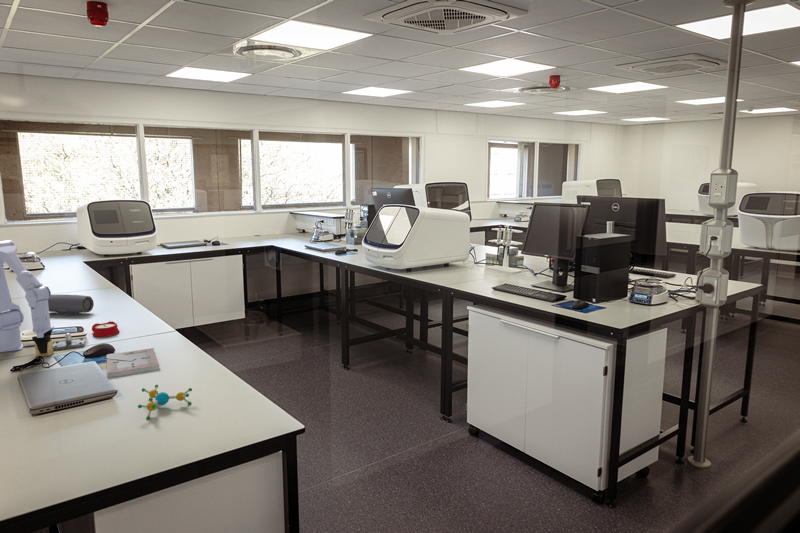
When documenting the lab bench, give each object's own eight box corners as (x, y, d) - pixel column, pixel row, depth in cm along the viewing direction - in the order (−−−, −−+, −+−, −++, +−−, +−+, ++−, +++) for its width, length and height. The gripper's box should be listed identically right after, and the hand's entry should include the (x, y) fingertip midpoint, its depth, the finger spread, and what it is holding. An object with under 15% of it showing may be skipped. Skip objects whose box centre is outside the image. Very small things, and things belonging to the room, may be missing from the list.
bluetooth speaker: (95, 312, 265) (93, 293, 263) (82, 316, 256) (80, 297, 254) (54, 310, 267) (52, 292, 266) (40, 315, 258) (38, 296, 256)
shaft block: (52, 350, 206) (50, 337, 205) (54, 344, 213) (52, 332, 212) (84, 346, 211) (82, 333, 210) (85, 341, 218) (83, 328, 217)
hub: (35, 357, 199) (34, 345, 198) (37, 353, 203) (36, 340, 202) (52, 355, 201) (51, 342, 200) (54, 350, 206) (53, 338, 205)
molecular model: (198, 404, 159) (174, 392, 168) (197, 389, 158) (173, 377, 167) (145, 424, 146) (122, 409, 155) (143, 408, 145) (120, 393, 155)
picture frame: (106, 360, 197) (107, 379, 179) (106, 354, 197) (107, 372, 179) (154, 353, 206) (159, 370, 187) (153, 347, 205) (159, 364, 187)
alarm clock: (94, 331, 220) (88, 316, 231) (95, 344, 222) (89, 329, 233) (121, 327, 226) (114, 313, 237) (121, 340, 229) (115, 325, 239)
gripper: (50, 320, 195) (54, 354, 198) (55, 311, 208) (58, 343, 210) (28, 322, 192) (32, 357, 194) (33, 313, 205) (37, 346, 207)
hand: (44, 350), depth 202 cm, fingers open, 7 cm apart
